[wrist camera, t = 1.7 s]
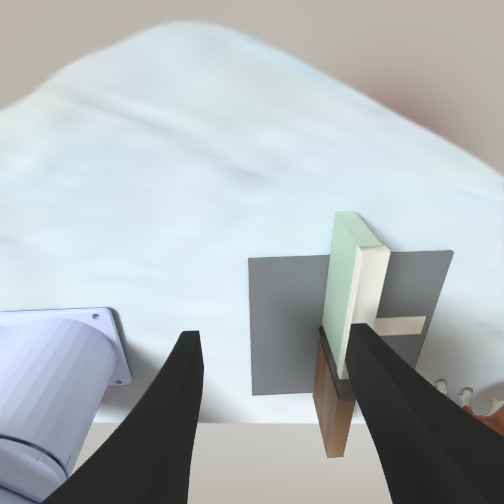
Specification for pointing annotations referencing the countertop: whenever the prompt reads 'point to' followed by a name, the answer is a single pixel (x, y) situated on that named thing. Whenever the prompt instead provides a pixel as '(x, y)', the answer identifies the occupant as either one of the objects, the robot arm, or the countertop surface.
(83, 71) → the countertop surface
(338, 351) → the fence gate
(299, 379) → the board
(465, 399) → the bull figurine
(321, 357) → the fence section
